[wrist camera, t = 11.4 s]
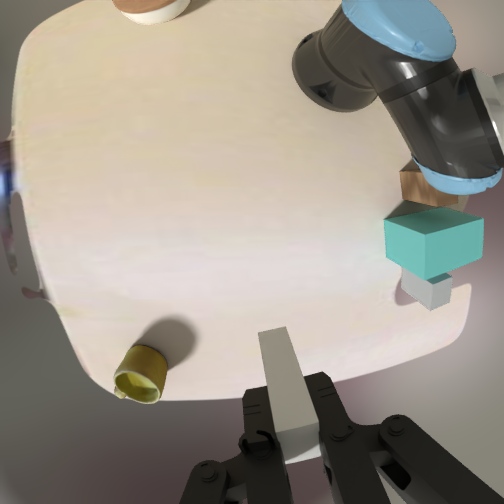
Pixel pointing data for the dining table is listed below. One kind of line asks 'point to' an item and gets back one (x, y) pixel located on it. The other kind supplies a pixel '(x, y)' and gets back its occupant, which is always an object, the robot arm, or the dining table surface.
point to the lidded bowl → (151, 10)
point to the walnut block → (423, 190)
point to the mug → (141, 375)
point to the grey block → (428, 289)
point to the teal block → (434, 241)
